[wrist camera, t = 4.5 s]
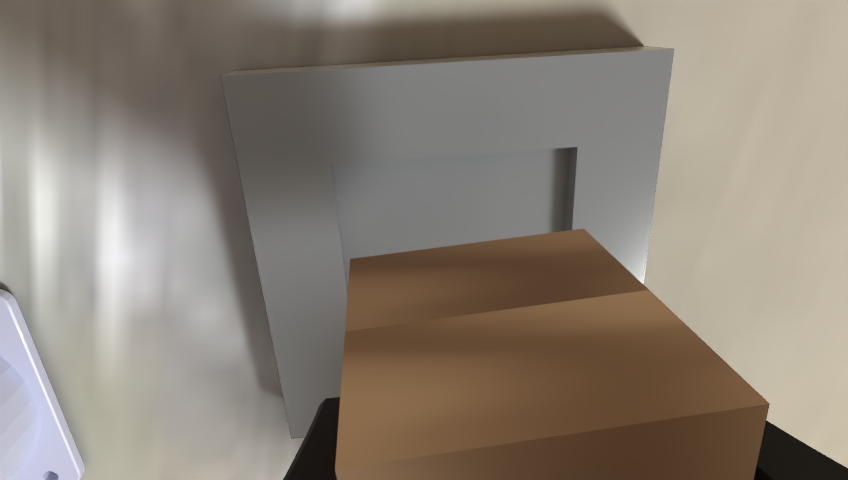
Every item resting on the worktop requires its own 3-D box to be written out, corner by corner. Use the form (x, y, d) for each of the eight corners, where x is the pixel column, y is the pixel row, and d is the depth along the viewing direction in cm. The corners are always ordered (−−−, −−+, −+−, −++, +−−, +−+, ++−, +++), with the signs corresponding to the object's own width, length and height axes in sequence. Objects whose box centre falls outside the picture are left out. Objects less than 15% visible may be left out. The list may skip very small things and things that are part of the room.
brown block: (381, 441, 11) (390, 721, 7) (350, 258, 10) (334, 470, 5) (579, 412, 12) (715, 662, 7) (583, 228, 10) (769, 404, 5)
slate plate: (297, 407, 19) (291, 438, 18) (235, 70, 15) (220, 76, 13) (609, 375, 20) (627, 402, 19) (645, 46, 15) (674, 48, 14)
